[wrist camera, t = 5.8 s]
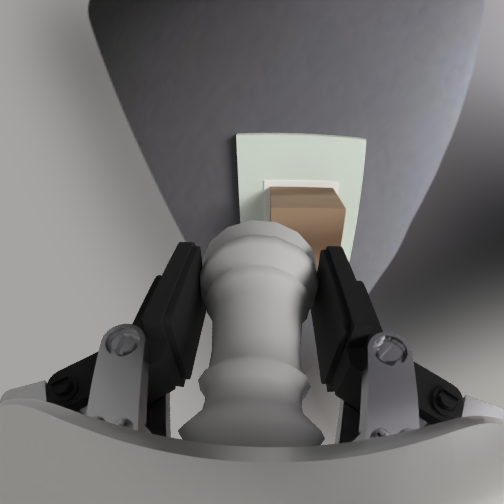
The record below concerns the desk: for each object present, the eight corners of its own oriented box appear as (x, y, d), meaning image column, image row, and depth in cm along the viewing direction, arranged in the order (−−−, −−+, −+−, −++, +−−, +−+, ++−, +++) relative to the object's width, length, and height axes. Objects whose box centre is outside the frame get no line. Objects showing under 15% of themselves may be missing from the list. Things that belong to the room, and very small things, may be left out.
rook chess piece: (217, 309, 12) (185, 484, 6) (192, 221, 10) (99, 435, 3) (315, 301, 12) (340, 484, 5) (313, 208, 9) (383, 445, 3)
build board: (237, 133, 23) (236, 135, 23) (362, 138, 23) (366, 140, 22) (243, 259, 31) (242, 264, 30) (346, 259, 30) (348, 265, 29)
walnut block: (270, 186, 25) (271, 207, 21) (332, 187, 25) (346, 209, 21) (270, 241, 28) (270, 270, 24) (326, 241, 28) (336, 270, 24)
